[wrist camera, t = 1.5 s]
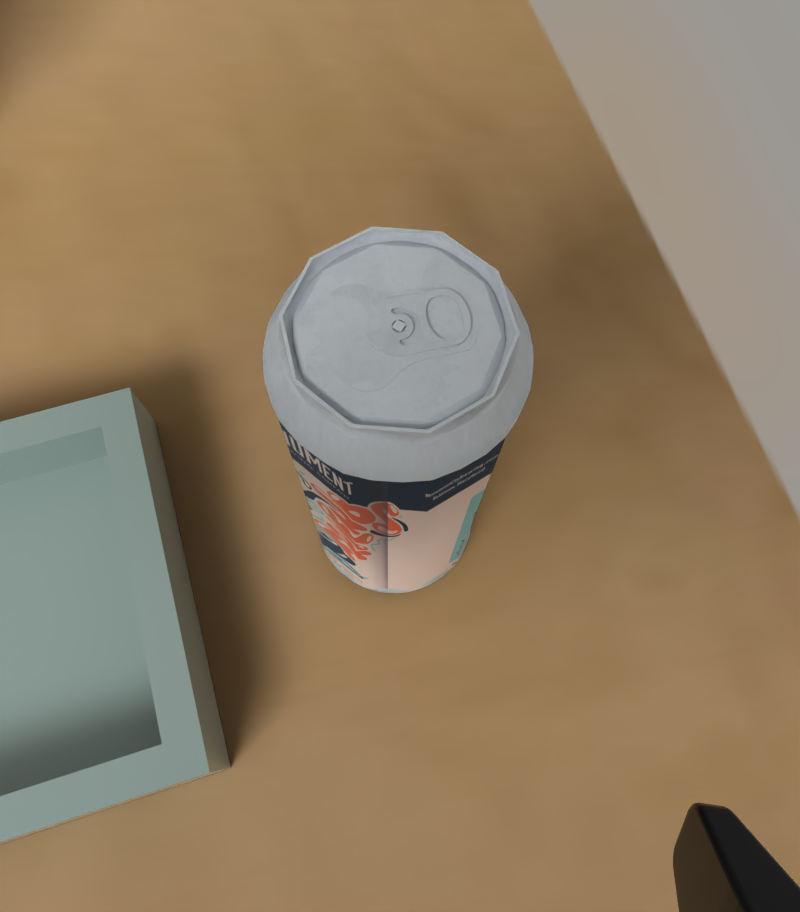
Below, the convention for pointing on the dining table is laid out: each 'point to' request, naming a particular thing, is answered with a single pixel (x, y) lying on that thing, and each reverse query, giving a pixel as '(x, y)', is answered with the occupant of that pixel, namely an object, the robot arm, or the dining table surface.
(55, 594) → the dish
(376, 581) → the beer can
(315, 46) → the dining table surface
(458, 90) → the dining table surface
